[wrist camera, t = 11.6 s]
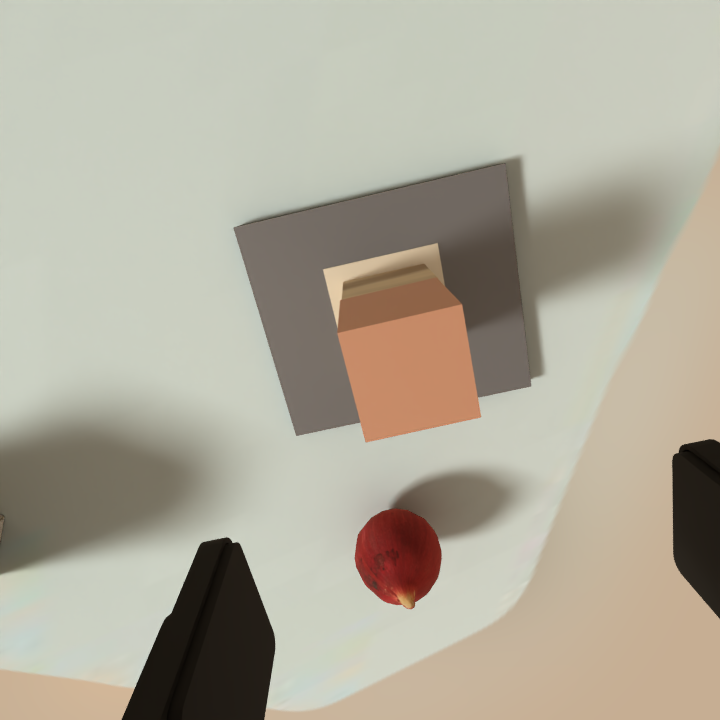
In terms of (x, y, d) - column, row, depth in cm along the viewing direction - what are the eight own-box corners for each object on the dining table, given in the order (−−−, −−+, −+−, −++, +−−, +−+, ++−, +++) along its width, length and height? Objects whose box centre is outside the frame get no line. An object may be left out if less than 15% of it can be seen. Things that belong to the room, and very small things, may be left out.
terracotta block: (340, 299, 25) (337, 333, 19) (436, 277, 25) (462, 304, 19) (362, 388, 27) (365, 442, 21) (452, 367, 26) (481, 417, 21)
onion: (351, 548, 38) (352, 639, 30) (358, 484, 36) (360, 563, 28) (426, 552, 38) (445, 643, 30) (437, 489, 36) (460, 569, 29)
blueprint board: (237, 226, 30) (233, 227, 29) (500, 164, 29) (505, 163, 28) (297, 429, 34) (296, 436, 33) (526, 380, 33) (531, 386, 32)
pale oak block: (342, 281, 30) (341, 299, 25) (424, 263, 29) (438, 278, 25) (361, 357, 31) (363, 388, 27) (438, 341, 31) (453, 368, 26)
